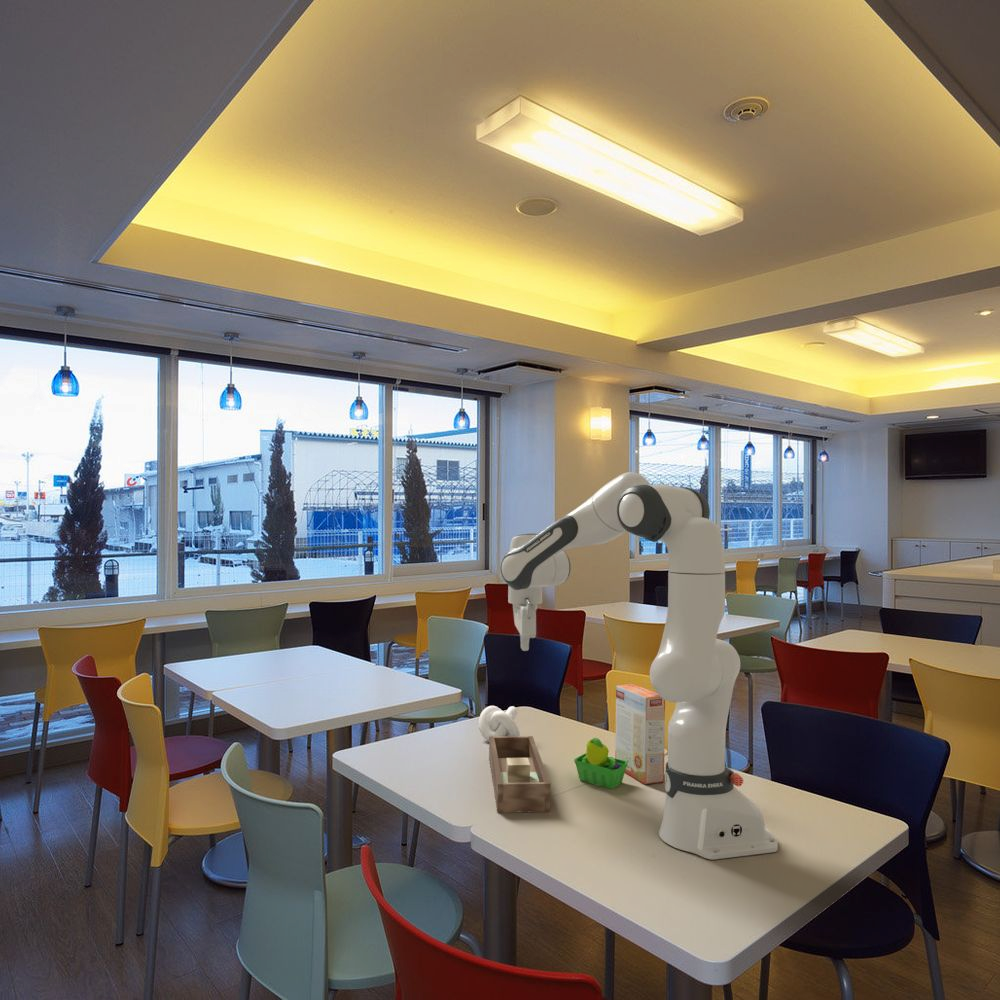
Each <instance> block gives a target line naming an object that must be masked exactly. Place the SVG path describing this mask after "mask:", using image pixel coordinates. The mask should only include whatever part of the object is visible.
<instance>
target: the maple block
mask: <svg viewBox="0 0 1000 1000" xmlns="http://www.w3.org/2000/svg"><path fill="white" fill-rule="evenodd" d="M506 776H507V781H508V783H514V782H530V763H529V760H528V758H507V760H506Z"/></svg>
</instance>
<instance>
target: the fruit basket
mask: <svg viewBox="0 0 1000 1000" xmlns="http://www.w3.org/2000/svg"><path fill="white" fill-rule="evenodd" d="M609 752H610V751H609V748H608V747H607V745H605V744H604V743H603V742H602V741H601V740H600V739H599V738H597V737H593V738H591V739H590V740H589V741H588V742H587V743H586V750H585V753H583V754H581V755H579V756H577V757H575V758H574V759H573V761H574V764H575V767H576V771H577V775H578V779H580V780H579V781H581V780H583V781H582V782H584V781H587V783H588V782H590V783H589V784H592V783H594V784H593V785H596V784H597V786H599V785H600V787H603V786H605V787H604V788H607V789H611V790H612V789H614V788H616V787H617V785H618V786H619V785H620V783H621V784H622V783H623V781H624V775H625V774H626V773H625V769H626V767H627V764H628V762H627V761H624V760H620V759H615V757H613V756H609Z"/></svg>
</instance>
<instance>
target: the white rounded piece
mask: <svg viewBox="0 0 1000 1000" xmlns="http://www.w3.org/2000/svg"><path fill="white" fill-rule="evenodd" d="M517 714H518V709H517V707H515V706H514V705H513V706H509V707H508V708H507V710H506V711H503V710H502V709H501V708H499V707H498V706H495V705H489V706H487V707H485V708H484V709H482V711H481V712H480V715H479V719H478V727H479V728H478V729H479V731H480V734H481V736H482V737H483V739H484V740H486V741H487V742H489V737H494V736H520V735H521V734H520V728H519V726H518V725H517V723H516V722H515V719H516V717H517Z"/></svg>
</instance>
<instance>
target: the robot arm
mask: <svg viewBox="0 0 1000 1000" xmlns="http://www.w3.org/2000/svg"><path fill="white" fill-rule="evenodd" d="M710 514H711V511H710V505H709V501H708V500H707V498H706V496H704V495H703V494H702V493H701V492H699V491H698V490H695V489H692V488H690V487H686V486H685V487H684V486H681V487H679V486H676V485H675V486H674V485H670V484H651V483H650V482H649V481H648V479H647V478H646V477H645V476H643V475H641V474H640V473H638V472H632V471H629V472H628V471H627V472H624V473H621V474H620V475H617V476H616V477H614V478H613V479H612V480H610V481H608V482H607V483H606V484H605V485H603V486H602V487H601V488H600V489H598V490H597V491H596V492H595V493H594V494H592V496H590V497H589V498H588V499H587V500H585V501H584V502H583V503H581V504H580V505H579V506H578V507H576V508H575V509H573V510H572V511H571V512H568V513H567V514H566V515H564V516H562V517H561V518H559V519H558V520H557V521H554V522H552V524H550V525H549V526H548V527H546V528H545V529H543V530H542V531H540V533H521V534H517V535H515V536H514V537H512V539H511V541H510V544H509V549H508V551H507V552H506V553H505V555H504V556H503V558H502V561H501V564H500V574H501V578H502V579H503V580H504V581H505V583H506V584H507V585H508V588H507V589H508V590H507V593H508V594H507V597H508V600H507V602H508V604H512V611H513V612H512V613H513V621H514V626H515V627H516V630H517V631H518V633H519V637H520V638H519V639H520V640H519V641H520V649H521V650H522V651H523V652H528V651H529V649H530V639H534V638H536V636H537V610H538V605H541V604H543V588H545V587H556V586H560V585H563V584H565V583H566V582H567V581H568V579H569V576H570V574H571V570H572V569H571V561H570V558H569V556H568V554H567V553H566V550H568V549H572V548H573V549H574V548H579V547H586V546H596V545H597V546H598V545H602V544H603V545H604V544H606V543H610V542H611V541H613V540H615V539H618V538H619V537H621V536H622V535H623V534H624V533H625V532H627V533H629V534H632V535H635V536H637V537H641V538H642V539H645V540H647V541H650V542H651V543H652V542H653V543H656V542H657V541H659V540H660V541H662V542H663V544H664V545H665V547H666V549H667V553H668V554H667V555H668V565H667V567H668V569H667V570H668V574H667V576H668V577H667V578H668V579H667V582H668V583H667V586H668V587H667V588H668V589H667V591H668V592H667V613H666V617H665V618H666V619H665V624H664V629H663V633H662V637H661V641H660V645H659V649H658V652H657V654H656V656H655V658H654V659H653V660H652V663H651V665H650V668H649V680H650V683H651V686H652V688H653V690H654V692H656V693H657V694H658V695H659V696H660V697H661V698H663V699H665V701H667V702H669V703H676V704H675V708H674V711H673V713H672V716H671V718H670V719H669V721H668V727H667V762H666V763H665V770H664V790H665V793H666V796H665V797H666V798H665V805H664V810H663V816H662V819H661V824H660V827H659V830H658V836H659V838H660V839H661V840H662V841H664V843H666V844H667V845H668V846H669V845H670V846H671V847H673V848H676V849H678V850H681V851H684V852H688V853H692V854H696V855H698V856H700V857H701V858H704V859H708V860H720V859H729V858H738V857H745V856H753V855H761V854H770V853H776V852H777V851H778V850H779V844H778V843H779V842H778V839H777V838H776V836H775V835H774V834H773V833H772V831H770V829H769V828H767V827H766V824H765V820H764V817H763V814H762V812H761V809H760V808H759V807H758V806H757V805H756V803H754V802H753V801H752V800H751V799H750V798H748V797H747V796H746V794H744V793H743V792H741V791H740V790H739V789H738V788H736V787H741V786H742V785H743V784H744V781H745V780H744V778H743V777H742V776H741V775H740V774H739V773H738V772H734V771H733V770H732V769H730V767H727V766H726V732H727V730H726V729H727V723H728V716H729V713H730V708H731V702H732V697H733V691H734V687H735V683H736V680H737V679H738V678H737V677H738V675H739V673H740V670H741V658H740V655H739V653H738V651H737V650H736V648H735V647H734V645H732V643H729V642H728V641H726V640H723V639H719V638H718V632H719V628H720V626H721V622H722V620H723V618H724V616H725V612H726V563H725V552H724V546H723V539H722V534H721V530H720V528H719V526H718V525H717V523H716V522H715V521H713V520H711V519H710V516H711V515H710ZM735 786H736V787H735Z"/></svg>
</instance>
